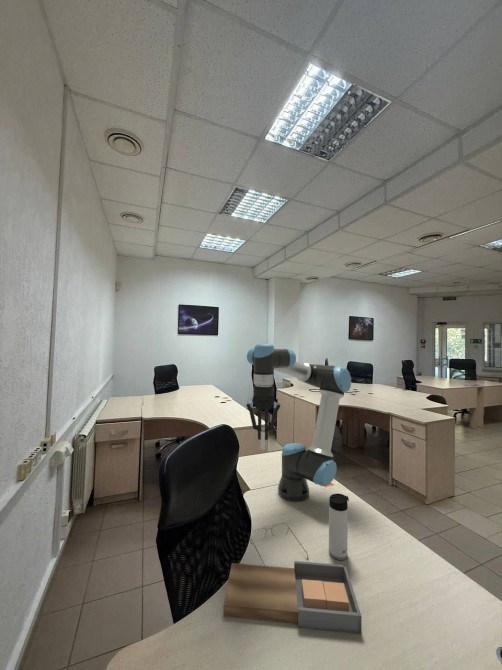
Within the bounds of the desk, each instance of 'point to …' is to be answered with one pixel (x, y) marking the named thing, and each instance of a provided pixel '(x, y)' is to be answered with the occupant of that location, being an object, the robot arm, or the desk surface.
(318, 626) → the tray
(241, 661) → the desk surface
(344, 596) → the tile
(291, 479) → the robot arm
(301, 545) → the eyeglasses
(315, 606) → the tile
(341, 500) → the travel mug
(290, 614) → the wooden plank
